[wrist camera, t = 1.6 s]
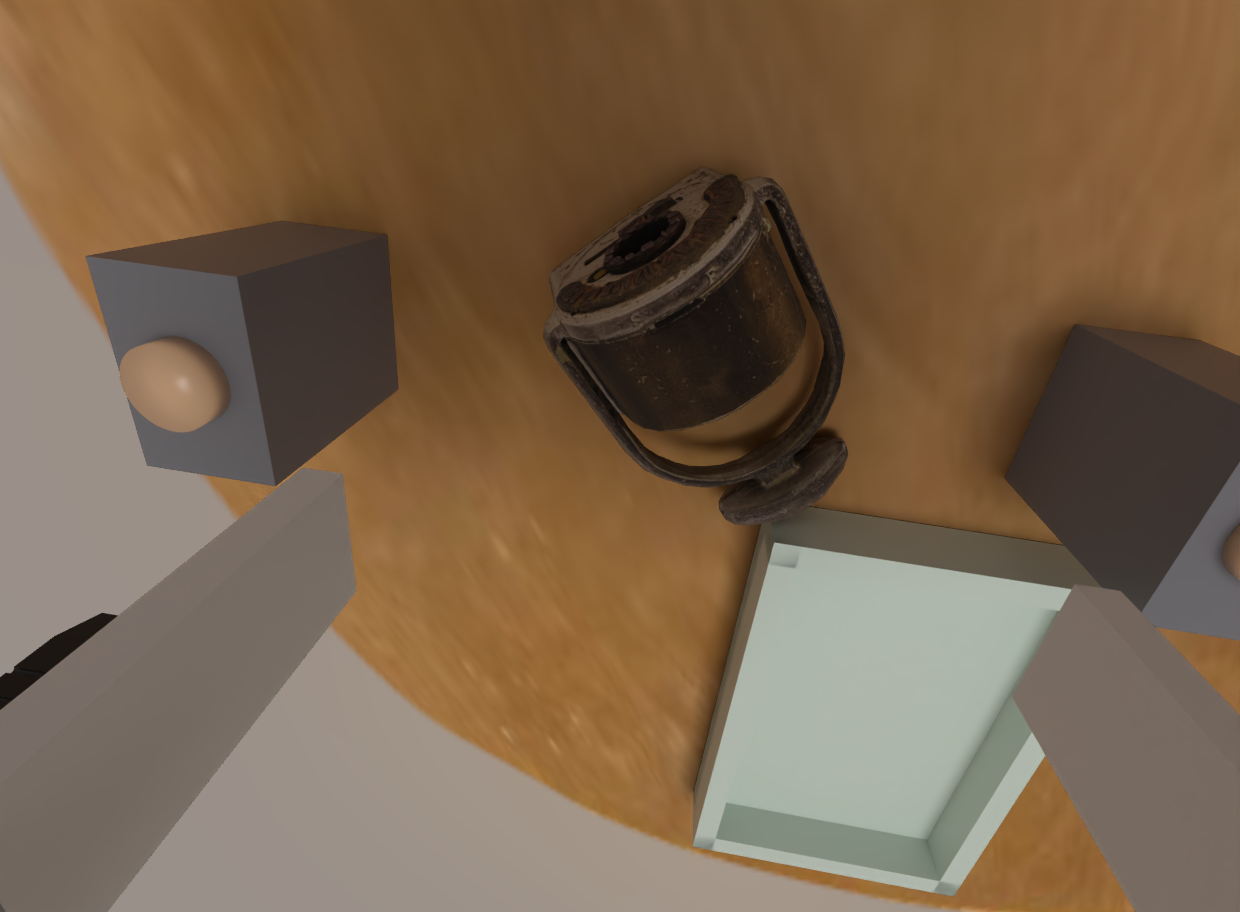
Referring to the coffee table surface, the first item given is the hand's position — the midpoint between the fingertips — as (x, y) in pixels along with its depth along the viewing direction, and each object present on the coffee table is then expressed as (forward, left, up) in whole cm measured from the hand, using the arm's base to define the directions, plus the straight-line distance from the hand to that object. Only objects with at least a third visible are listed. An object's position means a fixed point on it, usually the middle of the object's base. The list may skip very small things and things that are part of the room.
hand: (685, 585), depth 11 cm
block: (-14, 0, -13) cm, 19 cm away
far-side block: (+14, 0, -13) cm, 19 cm away
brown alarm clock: (0, 0, -13) cm, 13 cm away
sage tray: (-10, +15, -13) cm, 22 cm away
